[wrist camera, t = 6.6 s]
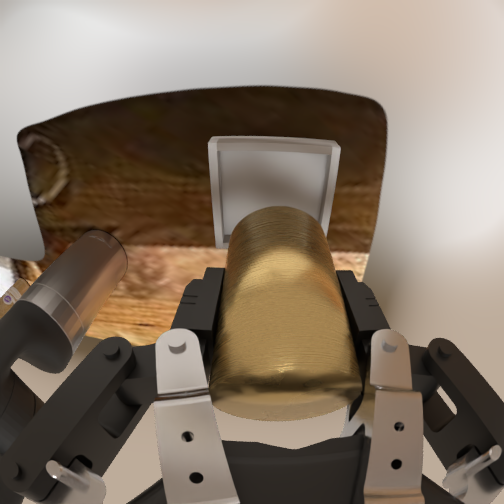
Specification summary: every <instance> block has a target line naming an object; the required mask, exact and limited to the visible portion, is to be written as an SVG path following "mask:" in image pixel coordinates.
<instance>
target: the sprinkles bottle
mask: <svg viewBox="0 0 504 504" xmlns="http://www.w3.org/2000/svg"><path fill="white" fill-rule="evenodd" d="M29 287H30V286H29V284H28V283H27V282H26V281H25V280H24V279H22V278H19V279H18V280H17V282H16V283H15V284H14V285H13V286H12V287H10V288H9V289H8V290H7V291H6V293H5V294H4V295H3V296H2V297H1V298H0V319H1V318H2V317H3V316H4V315H5V314H6V313H7V312H8V311H9V309H10V308H11V307H12V306H13V305H14V304H15V302H17V300H18V299H19V298H20V297H21V296H22V295H23V294H24V293H25V291H26V290H27V289H28V288H29Z"/></svg>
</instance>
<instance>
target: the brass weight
mask: <svg viewBox="0 0 504 504" xmlns="http://www.w3.org/2000/svg"><path fill="white" fill-rule="evenodd" d="M361 392H362V382H361V376H360V371H359V366H358V361H357V356H356V351H355V347H354V342H353V337H352V333H351V329H350V324H349V320H348V316H347V312H346V308H345V304H344V300H343V296H342V292H341V288H340V285H339V281H338V277H337V274H336V270H335V267H334V263H333V260H332V256H331V253H330V249H329V246H328V243H327V239H326V236H325V233H324V231H323V229H322V227H321V225H320V224H319V223H318V221H317V220H316V219H315V218H313V217H312V216H311V215H309V214H308V213H306V212H304V211H302V210H299V209H297V208H293V207H288V206H271V207H266V208H262V209H259V210H256V211H254V212H252V213H250V214H248V215H247V216H246V217H244V218H243V219H242V220H241V221H240V222H239V223H238V224H237V225H236V226H235V228H234V230H233V231H232V234H231V236H230V241H229V247H228V253H227V259H226V266H225V273H224V279H223V286H222V293H221V300H220V307H219V314H218V321H217V328H216V335H215V343H214V350H213V357H212V365H211V373H210V381H209V393H210V397H211V402H212V405H213V406H215V407H216V408H217V409H219V410H221V411H223V412H225V413H228V414H231V415H234V416H237V417H241V418H246V419H253V420H261V421H291V420H301V419H307V418H312V417H317V416H320V415H325V414H328V413H331V412H333V411H336V410H338V409H341V408H343V407H345V406H347V405H348V404H350V402H353V401H354V400H355V399H356V398H358V396H359V395H360V394H361Z"/></svg>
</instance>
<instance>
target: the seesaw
mask: <svg viewBox="0 0 504 504" xmlns="http://www.w3.org/2000/svg"><path fill="white" fill-rule="evenodd" d="M340 150H341V148H340V146H339V145H338V144H337V143H336V142H335V141H331V140H320V139H308V138H292V137H268V136H216V137H212V138H211V139H210V141H209V142H208V152H209V167H210V181H211V194H212V206H213V218H214V229H215V240H216V248H223V249H228V247H229V241H230V236H231V234H232V231H233V230H234V228H235V226H236V225H237V224H238V223H239V222H240V221H241V220H242V219H243V218H244V217H246V216H247V215H248V214H250V213H252V212H254V211H256V210H259V209H262V208H266V207H271V206H288V207H293V208H297V209H299V210H302V211H304V212H306V213H308V214H309V215H311V216H312V217H313V218H315V219H316V220H317V221H318V223H319V224H320V225H321V227H322V229H323V231H324V233H325V236H326V235H327V230H328V225H329V219H330V214H331V208H332V203H333V197H334V191H335V184H336V178H337V171H338V165H339V157H340Z"/></svg>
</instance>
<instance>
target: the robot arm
mask: <svg viewBox="0 0 504 504" xmlns="http://www.w3.org/2000/svg"><path fill="white" fill-rule="evenodd" d="M126 269H127V258H126V255H125V252H124V250H123V248H122V246H121V245H120V244H119V242H118V241H117V240H116V239H115V238H114V237H112V236H111V235H110V234H108V233H106V232H104V231H100V230H91V231H88V232H87V233H85V234H84V235H83V236H82V237H80V238H79V239H78V240H77V241H76V242H75V243H74V244H73V245H71V246H70V247H69V248H68V249H67V250H66V251H65V252H64V253H63V254H62V255H61V256H60V257H59V258H57V259H56V260H55V261H54V262H53V263H52V264H51V265H50V266H49V267H48V268H47V269H46V270H45V271H44V272H43V273H42V274H41V275H40V276H39V277H38V279H37V280H36V281H35V282H34V283H33V284H32V285H31V286H30V287H29V288H28V289H27V290H26V291H25V293H24V294H23V295H22V296H21V297H20V298H19V299H18V300H17V302H15V304H14V305H13V306H12V307H11V308H10V309H9V311H8V312H7V313H6V314H5V315H4V316H3V317H2V318H1V319H0V504H22V502H23V499H24V497H26V498H27V499H29V500H31V501H33V502H35V503H36V504H103V500H104V498H105V495H106V486H105V483H104V481H103V479H102V478H101V477H102V476H103V475H104V473H105V472H106V470H107V469H108V467H109V466H110V464H111V463H112V461H113V460H114V458H115V457H116V455H117V454H118V452H119V451H120V449H121V448H122V446H123V445H124V443H125V442H126V440H127V439H128V438H129V436H130V434H131V433H132V432H133V430H134V429H135V427H136V426H137V424H138V423H139V421H140V420H141V418H142V417H143V415H144V414H145V412H146V411H147V409H148V408H149V406H150V405H151V403H154V413H155V424H156V433H157V443H158V451H159V457H160V465H161V471H162V478H161V479H160V480H158V481H157V482H156V483H155V484H153V485H152V486H151V487H149V488H148V489H146V490H145V491H144V492H142V493H141V494H140V495H138V496H137V497H135V498H134V499H133V500H131V501H130V502H128V503H127V504H490V503H491V502H492V501H493V500H494V499H495V498H496V497H497V495H498V494H499V493H500V492H501V490H502V489H503V488H504V402H503V401H502V400H501V399H500V397H499V396H498V395H497V393H496V392H495V391H494V390H493V388H492V387H491V386H490V385H489V384H488V382H486V380H485V379H484V378H483V376H482V375H480V373H479V372H478V371H477V369H476V368H475V367H474V366H473V365H472V364H471V363H470V361H469V360H468V359H467V358H466V357H465V356H464V354H463V353H462V352H461V351H459V349H458V348H457V347H456V346H455V345H454V344H453V343H452V342H450V341H449V340H447V339H444V338H436V339H433V340H432V341H431V342H430V343H429V345H428V347H427V348H426V347H420V346H413V345H409V344H408V342H407V340H406V339H405V337H404V336H403V335H401V334H400V333H399V332H397V331H394V330H391V329H390V327H389V325H388V323H387V320H386V318H385V316H384V314H383V312H382V310H381V308H380V307H379V304H378V302H377V300H375V296H374V294H373V292H372V290H371V289H370V288H369V287H368V286H367V285H365V284H364V283H363V282H357V280H356V278H355V276H354V273H353V272H352V271H351V270H336V274H337V277H338V281H339V285H340V288H341V292H342V296H343V300H344V304H345V308H346V312H347V316H348V320H349V324H350V329H351V333H352V337H353V342H354V347H355V351H356V356H357V361H358V366H359V371H360V376H361V382H362V392H361V394H360V395H359V396H358V398H356V399H355V400H354V401H353V402H350V404H348V405H347V412H346V418H345V424H344V428H343V431H342V433H341V435H340V438H332V439H328V440H325V441H323V442H320V443H317V444H313V445H310V446H307V447H303V448H300V449H287V448H282V447H277V446H272V445H267V444H263V443H259V442H240V441H239V442H237V441H224V440H221V438H220V434H219V431H218V426H217V422H216V419H215V414H214V410H213V406H212V402H211V397H210V393H209V389H208V381H209V375H210V373H211V365H212V357H213V350H214V343H215V335H216V328H217V321H218V314H219V307H220V300H221V293H222V286H223V279H224V273H225V268H210V267H207V268H206V271H205V274H204V277H203V279H193V280H192V281H191V282H190V283H189V284H188V285H187V286H186V288H185V290H184V293H183V297H182V298H181V301H180V304H179V306H178V309H177V312H176V315H175V318H174V320H173V323H172V326H171V329H170V330H168V331H166V332H164V333H163V334H162V335H161V336H160V337H159V338H158V339H157V341H156V343H155V344H151V345H146V346H138V347H132V346H131V344H130V343H129V341H128V340H126V339H124V338H122V337H110V338H107V339H104V340H103V341H101V342H100V343H99V344H98V345H97V346H96V347H95V348H94V349H93V350H92V351H91V352H90V353H89V354H88V355H87V356H86V358H85V359H84V360H83V361H82V362H81V363H80V364H79V365H78V366H77V367H76V369H75V370H74V371H73V372H72V373H71V374H70V376H68V377H67V379H66V380H65V381H64V382H63V383H62V384H61V385H60V387H59V388H58V389H57V390H56V391H55V392H54V393H53V395H52V396H51V397H50V398H49V399H48V401H47V402H46V403H44V402H43V401H42V400H41V399H40V398H39V397H38V396H37V395H36V394H35V393H34V392H33V391H32V390H31V389H30V388H29V387H28V386H27V385H26V384H25V383H24V382H23V381H22V380H21V379H20V378H19V377H18V376H17V375H16V374H15V372H13V370H12V369H11V366H12V365H13V363H14V362H15V361H16V360H17V359H18V358H20V359H22V360H24V361H26V362H28V363H30V364H31V365H33V366H35V367H37V368H39V369H40V370H43V371H45V372H49V373H55V374H56V373H60V372H62V371H63V370H64V369H65V368H66V366H67V365H68V362H69V361H70V359H71V357H72V356H73V354H74V352H75V350H76V349H77V347H78V345H79V344H80V342H81V340H82V338H83V337H84V335H85V333H86V332H87V330H88V328H89V327H90V325H91V324H92V322H93V320H94V319H95V317H96V316H97V314H98V313H99V311H100V310H101V308H102V307H103V305H104V303H105V302H106V300H107V299H108V297H109V296H110V294H111V293H112V292H113V290H114V289H115V287H116V286H117V284H118V283H119V281H120V280H121V278H122V277H123V276H124V274H125V272H126ZM440 386H441V387H442V389H443V390H444V391H445V392H446V394H447V395H448V396H449V398H450V399H451V400H452V402H453V403H454V404H455V406H456V408H457V414H456V415H455V414H454V413H453V412H452V411H451V410H450V408H449V407H448V406H447V404H446V403H445V402H444V401H443V399H442V398H441V396H440V395H439V394H438V392H437V389H438V388H439V387H440ZM423 435H424V436H425V438H426V439H427V441H428V442H429V444H430V445H431V447H432V448H433V450H434V452H435V453H436V455H437V456H438V458H439V459H440V461H441V463H442V464H443V466H444V467H445V469H446V470H447V474H446V477H445V478H444V479H443V482H442V483H443V486H444V488H449V492H447V491H446V490H444V489H443V488H441V487H440V486H439V485H437V484H436V483H434V482H433V481H432V480H430V479H429V478H428V477H426V476H425V475H423V474H422V464H423Z"/></svg>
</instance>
